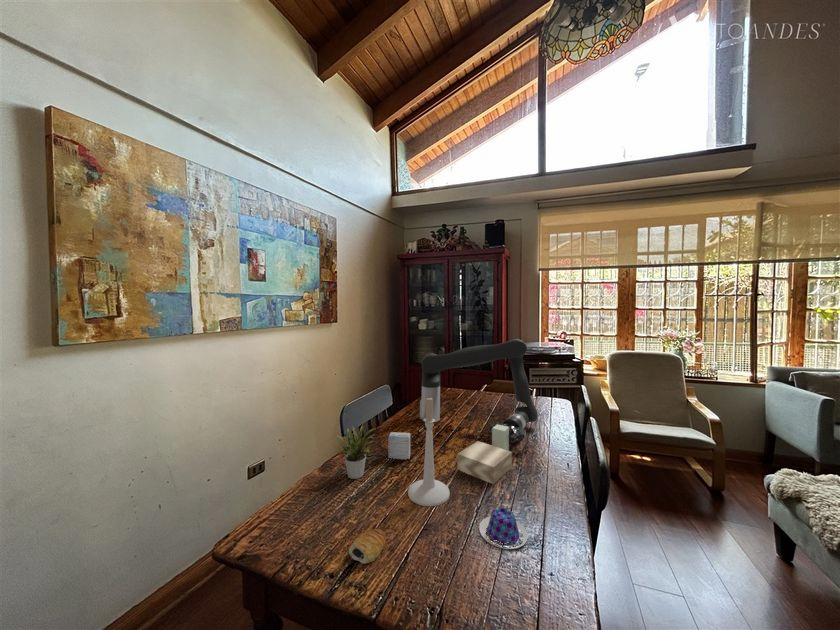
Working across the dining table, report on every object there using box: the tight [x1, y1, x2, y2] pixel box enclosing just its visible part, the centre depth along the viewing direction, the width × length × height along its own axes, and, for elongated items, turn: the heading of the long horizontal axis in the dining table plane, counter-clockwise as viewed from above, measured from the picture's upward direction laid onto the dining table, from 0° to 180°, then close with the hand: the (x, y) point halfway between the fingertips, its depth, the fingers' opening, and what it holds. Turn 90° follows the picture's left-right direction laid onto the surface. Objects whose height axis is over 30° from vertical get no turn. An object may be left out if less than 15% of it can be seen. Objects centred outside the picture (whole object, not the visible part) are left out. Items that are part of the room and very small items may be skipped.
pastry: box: [348, 528, 387, 564], centre depth 76 cm, size 9×7×4 cm
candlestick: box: [407, 397, 451, 507], centre depth 98 cm, size 13×13×30 cm
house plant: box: [334, 424, 377, 480], centre depth 109 cm, size 14×14×16 cm
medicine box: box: [387, 431, 411, 460], centre depth 122 cm, size 8×4×9 cm, turn 84°
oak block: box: [456, 440, 513, 485], centre depth 114 cm, size 14×14×6 cm
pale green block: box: [491, 423, 510, 451], centre depth 126 cm, size 5×5×10 cm
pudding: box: [478, 507, 529, 550], centre depth 82 cm, size 12×12×5 cm
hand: (500, 437), depth 126 cm, fingers open, 8 cm apart
